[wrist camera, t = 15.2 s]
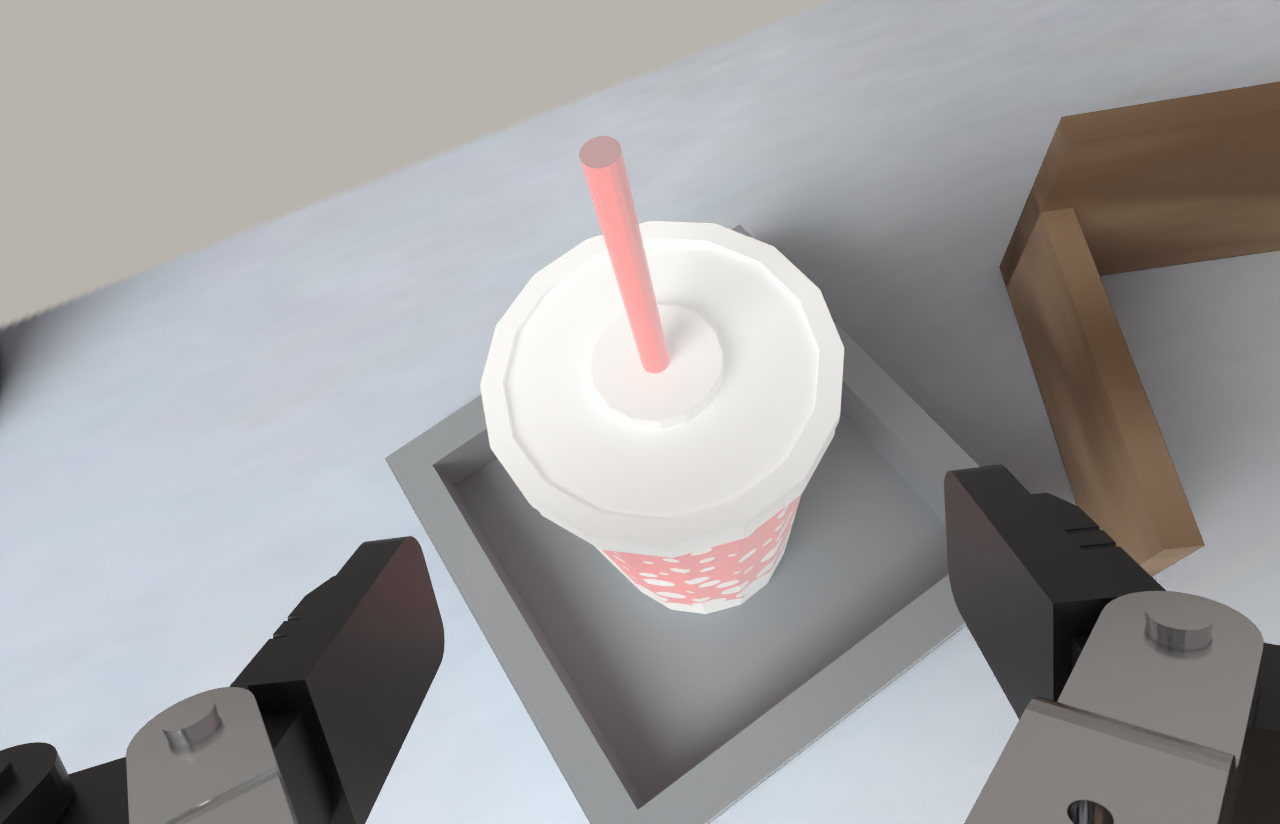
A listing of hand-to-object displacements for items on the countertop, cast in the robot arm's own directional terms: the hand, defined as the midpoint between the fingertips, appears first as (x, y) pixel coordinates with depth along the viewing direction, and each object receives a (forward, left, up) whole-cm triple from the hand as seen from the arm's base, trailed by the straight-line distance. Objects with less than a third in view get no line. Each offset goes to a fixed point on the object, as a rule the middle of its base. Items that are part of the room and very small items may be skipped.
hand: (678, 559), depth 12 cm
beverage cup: (-3, +2, -9) cm, 9 cm away
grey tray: (-3, +2, -10) cm, 10 cm away
